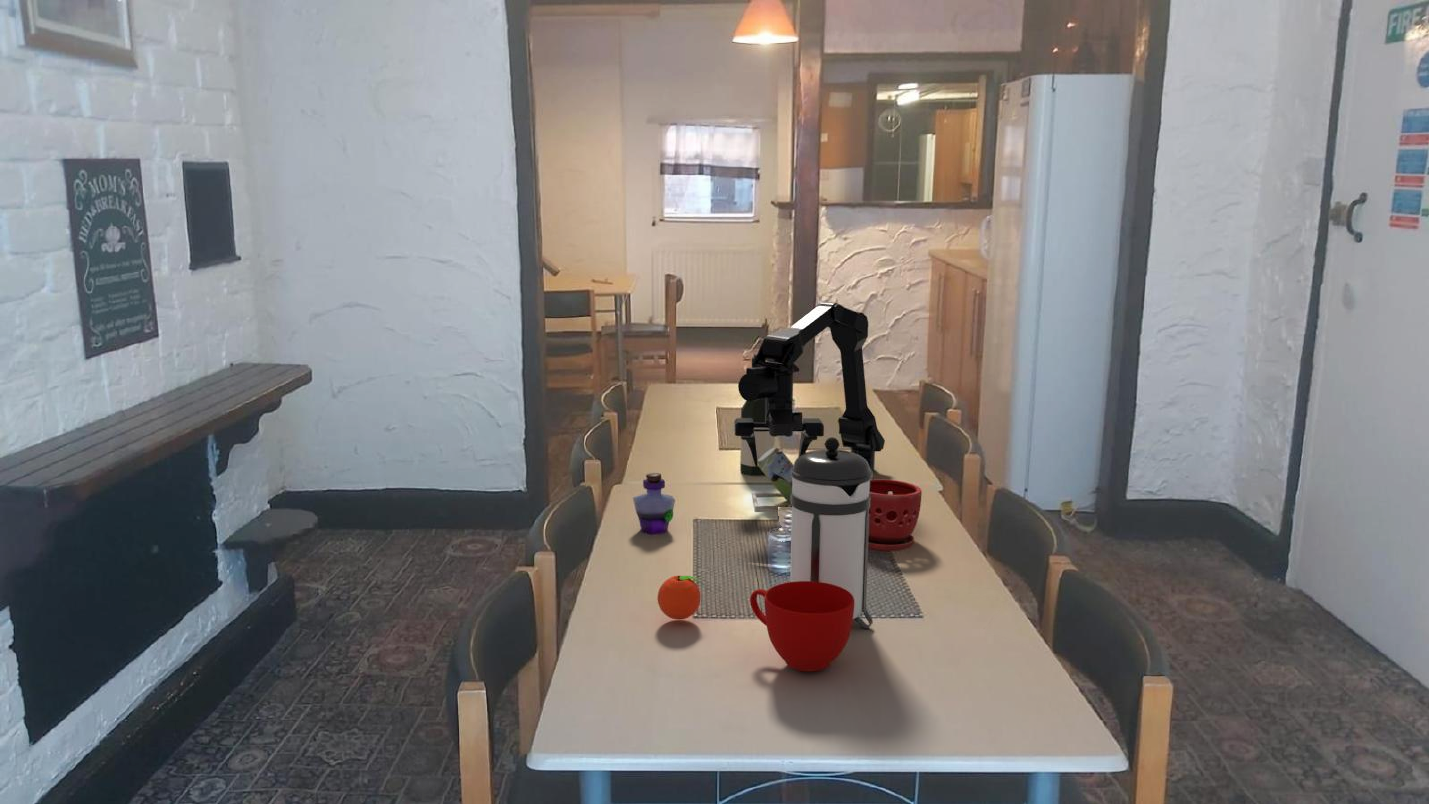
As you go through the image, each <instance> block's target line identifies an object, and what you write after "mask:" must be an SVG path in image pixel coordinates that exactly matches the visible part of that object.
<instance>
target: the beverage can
mask: <svg viewBox="0 0 1429 804" xmlns="http://www.w3.org/2000/svg"><path fill="white" fill-rule="evenodd" d="M758 462H759V467H760V469H761V470H762V471H763V473H764V474H765V475H766V478H768V480H769V481H770V483H771V484H772V485H773V486H774V487H775V488H776V490H777V491H778V493H781V494H782V496H781V497H783V498H784V499H785V501H787V502H791V490H792V477H791V475H790V468H791V467H792V466H793V465H794V463H793V462H792V461H791V460H790V459H789V458H788V456H787V455H786V454H785V453H784V452H783V450H781V449H780V448H777V447H776V446H774V447H773V448H771V449H769V450H768V451H767V452H765V453H764V454H763V455H762V456H761V457H760V458H759V459H758Z"/></svg>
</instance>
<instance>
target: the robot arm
mask: <svg viewBox="0 0 1429 804" xmlns="http://www.w3.org/2000/svg"><path fill="white" fill-rule="evenodd" d="M827 328H828V329H829V330H830V335H831V339H832V341H833V342H834V344H835V345H836V347H837V348H838V350H839V351H840V362H841V370H842V380H843V381H842V382H843V383H842V384H843V391H844V403H845V404H844V405H845V410H844V412H843V414H842V416H840V417H838V420H837V423H838V434H839V435H840V438H841V444H842V447H845V448H850V452H852V453H855V454H858V455H860V456H861V457H863V458H864V459H865V460H866V461H867V462H868V464H869V468H870V469H871V470H872V471H873V472H874V471H875V466H876V465H875V461H876V460H875V459H876V458H875V457H876V453H877V452H882V450H883V449H884V446H885V444H886V443H885V438H884V437H883V435H882V434H881V432H880V431H879V429H878V425H877V421H876V417H875V415H874V413H873V412H872V411H871V409H870V408H869V406H868V399H867V387H866V378H865V375H866V374H865V367H864V366H865V365H864V364H865V363H864V356H863V355H864V353H863V347H864V346H865V344H866V341H867V339H868V337H869V319H868V316H867V315H866V314H865V313H864V312H861V311H854V310H853V309H850V308H847V307H845V306H843V305H842V304H839V303H838V302H832V301H831V302H829V301H821V302H818V303H817V305H816V307H815V308H814V309H812V310H810V311H809V313H807V314H806V315H804V316H803V317H802V318H800V319H799V320H798V321H797V322H795V323H794V324H792V325H791V326H790V327H788V328H786V329H780V330H777V331H774V332H772V333H770V334H768V335H766V336H765V337H764V338H763V340H762V343H761V345H760V347H759V349H758V352H757V356H756V358H755V360H754V362H753V364H752V363H751V367H746V370H745V371H746V373H745V374H743V375H742V376H741V378H740V379H739V382H738V383H737V384H738V385H737V387H738V393H739V394H740V397H741V398H742V399H743V400H744V401H745V402H746V401H756V400H760V399H765V398H766V411H765V423H762V422H753V418H741V417H736V418H735V419H734V423H733V431H734V436H735V437H736V436H737V437H740V440H741V439H742V440H746V441H747V443H748V445H749V447H750V450H751V453H752V456H753V460H754V463H755V467H757V462H758V460H757V452H756V443H755V436H754V431H769V434H770V435H771V436H774V437H780V436H781V437H787V438H788V437H792V436H793V435H794V432H800V439H799V440H800V441H799V449H798V457H799V456H800V455H802V454H804V453H806V452H807V450H808V448H809V446H810V445H811V443H812V442H813V441H817V440H818V437H824V436H825V425H824V423H823V422H822V420H821V419H820V418H812V417H810V418H809V417H807V418H805V417H803V412H800V411H799V412H798V411H797V412H795V411H794V412H793V409H794V408H793V407H794V406H793V404H794V397H793V396H794V373H799V372H800V368H799V366H797V365H796V364H795V362H797V361H798V359H799V358H800V357H801V356H802V354H803V353H804V347H805V345H806V344H808V343H810V341H812V340H813V339H815V338H816V337H817V336H818V335H820V333H822V332H823V331H824V330H826V329H827ZM752 367H753V368H752ZM798 457H797V458H798Z"/></svg>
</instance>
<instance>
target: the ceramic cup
mask: <svg viewBox="0 0 1429 804" xmlns="http://www.w3.org/2000/svg"><path fill="white" fill-rule="evenodd" d="M758 595H760V596H762V597H763V598H764V612H762V610H761V608H760V606H759V604H758V603H759V602H758V600H757V599H758ZM749 598H750V599H749V603H750V606H751V609H752V610H751V611H752V612H753V614H754V615H755V617H756V618H757V619H758V621H760V622H761V623H763V624H764V625H765V626H766V630H767V633H768V637H769V640H770V642H771V644H772V646H773V648H774V649H775V652H776V653H777V654H778V655H779V656H780V658H781V659H782V660H783V661H784V662H785V664H786V665H787V666H788V667H790V668H791V669H795V670H798V671H803V672H815V671H816V672H817V671H821V670H825V669H827V668H828V667H830V665H831V664H832V663H833V662H834V661H835V660H836V659H837V658H838V657H839V656H840V655H841V653H842V652H843V650H844V649H845V648H846V645H847V643H848V641H849V638H850V634H851V630H852V627H853V626H852V625H853V621H854V620H853V614H854V598H853V595H852V594H851V593H850V592H848V591H847V590H845V589H843V588H841V587H839V586H836V585H832V584H828V583H822V582H813V581H796V582H790V581H788V582H784V583H779V584H777V585H776V584H775V585H774V586H772V587H770V588H769V589H768V590H766V589H763V588H758V589H755V590H754V591H753V592H752V593H751V594H750V597H749Z"/></svg>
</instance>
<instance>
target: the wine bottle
mask: <svg viewBox="0 0 1429 804" xmlns="http://www.w3.org/2000/svg"><path fill="white" fill-rule="evenodd" d="M757 353H758V352H757ZM757 353H753V357H752V356H751V365H752V364H753V362H754V360H755V358H756V356H757ZM751 368H753V367H752V366H751ZM765 411H766V398H765V399H760V400H756V401H746V400H745V402H744V404H742V407H741V408H740V418H753V422H762V423H765ZM754 436H755V443H756V452H757V460H758V459H759V458H760V457H761V456H762V455H763V454H764V453H765V452H767V451H768V450H769V449H771V448H773V447H775V437H774V436H771V435H770V434H769V431H754ZM739 457H740V474H742V475H747V476H751V477H756V476H757V477H758V476H759V477H760V476H761V477H764V476H766V475H765V474H764V473H763V471H762V470H761V469H760V467H759V462H757V467H755V463H754V460H753V456H752V453H751V450H750V447H749V445H748V443H747V441H746V440H742V439H741V438H740V456H739ZM766 477H767V476H766Z"/></svg>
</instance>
